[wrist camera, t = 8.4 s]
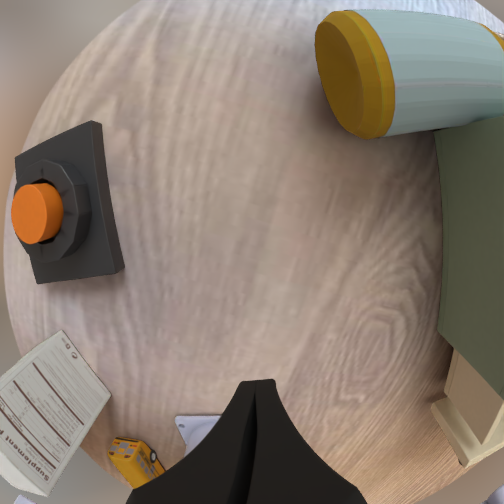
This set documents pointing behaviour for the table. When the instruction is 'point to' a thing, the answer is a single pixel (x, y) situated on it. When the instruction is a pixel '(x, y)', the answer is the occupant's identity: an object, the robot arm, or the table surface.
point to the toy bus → (134, 461)
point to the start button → (37, 212)
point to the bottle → (408, 71)
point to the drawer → (470, 413)
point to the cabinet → (473, 244)
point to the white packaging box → (46, 413)
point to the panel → (73, 206)
